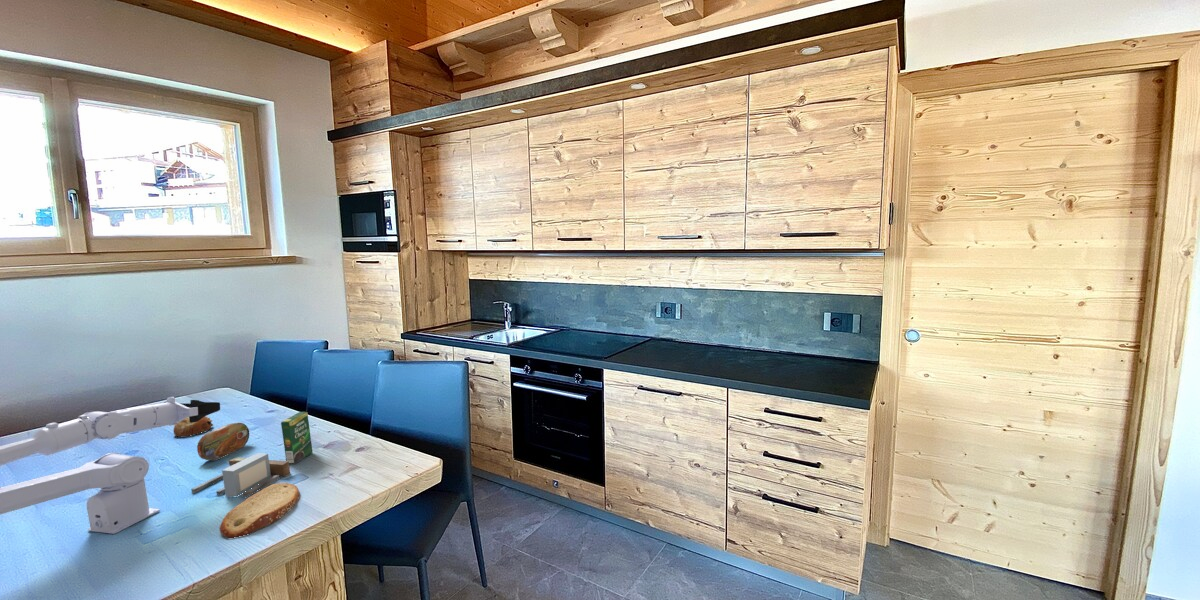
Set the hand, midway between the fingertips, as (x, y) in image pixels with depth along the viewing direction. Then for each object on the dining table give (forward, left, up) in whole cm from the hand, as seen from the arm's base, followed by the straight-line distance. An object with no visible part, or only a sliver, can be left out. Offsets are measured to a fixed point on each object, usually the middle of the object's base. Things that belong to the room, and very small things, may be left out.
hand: (209, 406), depth 131 cm
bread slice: (-12, -27, -21) cm, 36 cm away
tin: (+14, +14, -21) cm, 29 cm away
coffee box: (+14, -13, -21) cm, 28 cm away
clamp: (-1, -9, -20) cm, 22 cm away
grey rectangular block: (-3, -13, -20) cm, 24 cm away
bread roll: (+28, +44, -21) cm, 56 cm away
